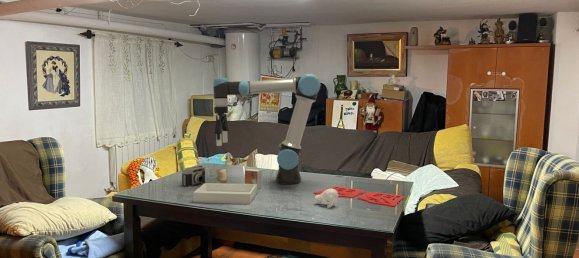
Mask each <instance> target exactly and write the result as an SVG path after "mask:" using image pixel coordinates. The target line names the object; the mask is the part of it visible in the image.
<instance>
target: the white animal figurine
mask: <svg viewBox="0 0 579 258" xmlns="http://www.w3.org/2000/svg"><path fill="white" fill-rule="evenodd" d="M326 189H327V190H325V189H324V190H325V191H324V192H323V193H321V194H320V195H317V194H315V197H314V201H315V202H316V204H317V205H321V204H322V203H323V204H325V205H327V206H326V207H327V208H328V209H330V208H332V207H334V206H335V205H336V204H337V202H338V201H339V197H338V196H339V195H338V192H337V191H336V190H335V189H328V188H326ZM328 202H330V203H329V204H328Z"/></svg>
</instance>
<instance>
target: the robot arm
mask: <svg viewBox="0 0 579 258" xmlns="http://www.w3.org/2000/svg"><path fill="white" fill-rule="evenodd" d="M212 86H213V101H212V102H213V106H214V108H213V109H214V111H213V112H214V114H217V115H215V126H214V127H215V129H214V135H216V136H215V137H216V139H215V140H216V146H217V147H218V146H219V147H221V146H222V145H223V143H228V142H229V141H228V138H229V137H228V132H229V125H228V119H227V114H228V113H229V107H228V105H229V100H228V97H229V96H247V95H258V94H259V95H260V94H278V93H281V94H282V93H294V94H295V95H294V96H295V98H296V102H295V104H294V108H293V112H292V115H291V119H290V121H289V126H288V130H287V134H286V136H285V140H283V141H282V142H281V143H279V144H278V154H277V156H276V162H277V164H278V170H277V174H276V175H275V182H276V183H277V184H280V185H296V184H300V183H301V182H302V175H301V173H300V170H299V160H300V155H301V151H302V146H301V143H302V138H303V135H304V132H305V129H306V125H307V122H308V118H309V116H310V115H309V114H310V112H311V108H312V106H313V103H315V102H316V101H317V97H318V94H319V91H320V90H321V81H320V78H318V76H317V75H315V74H313V73H305V74H303V75H301V76H294V77H293V78H286V79H285V78H283V79H267V80H266V79H265V80H250V81H245V80H241V81H237V80H236V81H228V78H226V77H220V78H219V77H218V78H214V79H213V85H212Z"/></svg>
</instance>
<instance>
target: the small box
mask: <svg viewBox="0 0 579 258" xmlns="http://www.w3.org/2000/svg"><path fill="white" fill-rule="evenodd" d="M262 171H263V170H262V169H256V168H247V169H245V170H244V184H257V191H258V190H260V189H262V187H263V186H262V182H263V181H262V180H263V179H262V177H263V176H262V175H263V173H262Z"/></svg>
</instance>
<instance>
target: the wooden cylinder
mask: <svg viewBox="0 0 579 258" xmlns="http://www.w3.org/2000/svg"><path fill="white" fill-rule="evenodd" d="M227 170H228V169H225V168H217V169H215V183H222V184H228V183H227V181H228V179H227V177H228V176H227V175H228V173H227V172H228V171H227Z"/></svg>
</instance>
